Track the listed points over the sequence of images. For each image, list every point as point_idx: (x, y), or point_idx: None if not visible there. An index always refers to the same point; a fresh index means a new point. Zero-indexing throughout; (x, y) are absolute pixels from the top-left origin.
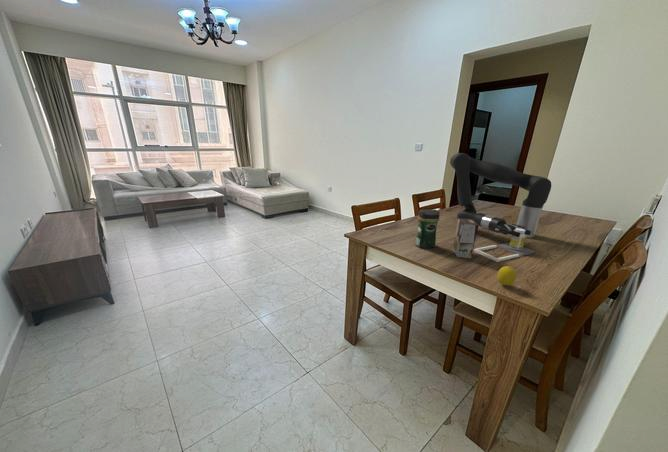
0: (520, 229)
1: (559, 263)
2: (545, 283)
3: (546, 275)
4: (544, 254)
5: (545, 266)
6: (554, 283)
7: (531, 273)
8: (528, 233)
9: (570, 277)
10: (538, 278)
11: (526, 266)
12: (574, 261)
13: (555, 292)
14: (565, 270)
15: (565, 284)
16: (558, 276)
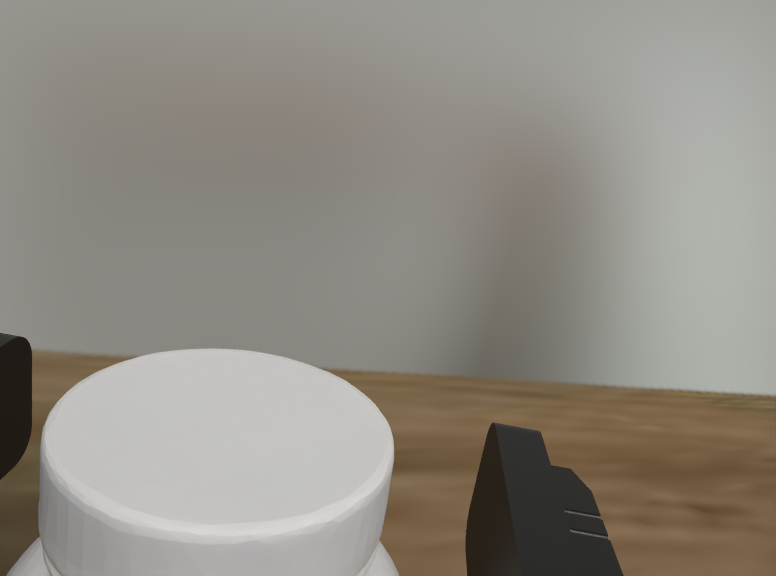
0: (223, 420)
1: None
2: (751, 436)
3: (631, 447)
4: (8, 541)
5: (456, 475)
6: (678, 413)
7: (750, 505)
8: (15, 419)
9: (466, 378)
10: (751, 466)
11: (683, 562)
12: None
13: (770, 403)
14: None
15: (609, 386)
16: (542, 410)
